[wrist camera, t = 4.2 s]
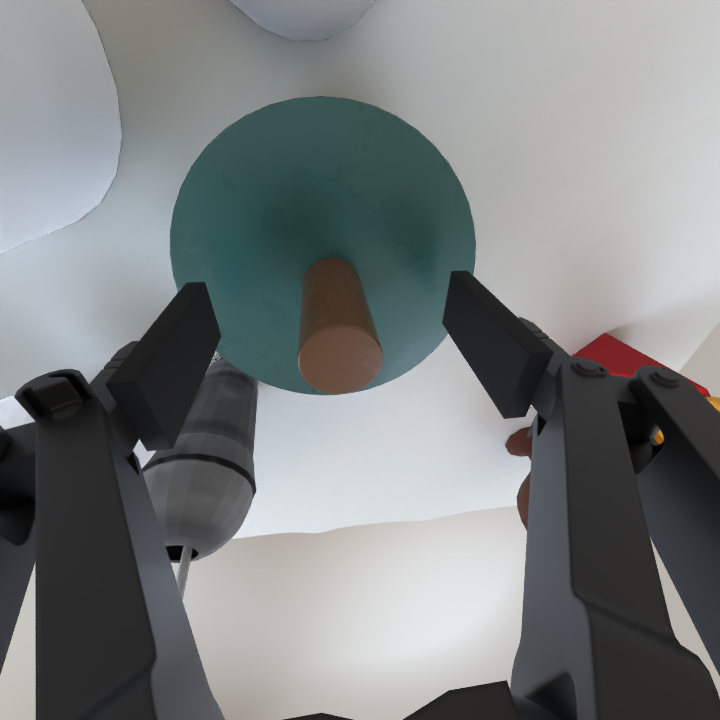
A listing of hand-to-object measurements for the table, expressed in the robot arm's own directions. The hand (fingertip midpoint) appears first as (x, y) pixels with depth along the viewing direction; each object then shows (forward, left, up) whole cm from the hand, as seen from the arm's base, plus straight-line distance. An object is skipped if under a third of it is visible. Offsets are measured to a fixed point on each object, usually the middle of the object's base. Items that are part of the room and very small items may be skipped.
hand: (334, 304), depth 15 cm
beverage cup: (-10, -13, -11) cm, 19 cm away
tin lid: (0, 0, -2) cm, 2 cm away
